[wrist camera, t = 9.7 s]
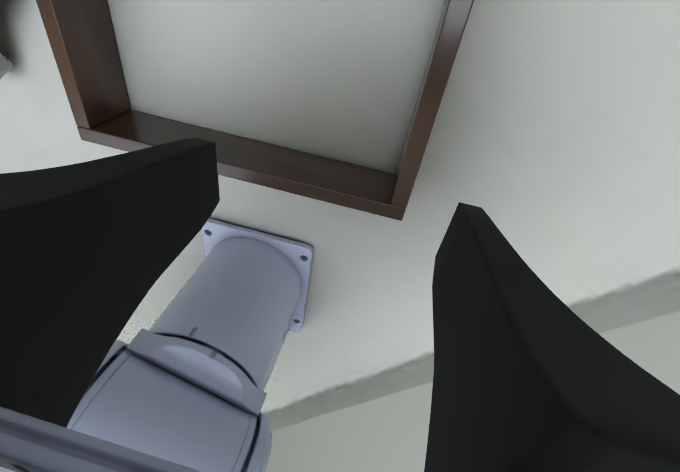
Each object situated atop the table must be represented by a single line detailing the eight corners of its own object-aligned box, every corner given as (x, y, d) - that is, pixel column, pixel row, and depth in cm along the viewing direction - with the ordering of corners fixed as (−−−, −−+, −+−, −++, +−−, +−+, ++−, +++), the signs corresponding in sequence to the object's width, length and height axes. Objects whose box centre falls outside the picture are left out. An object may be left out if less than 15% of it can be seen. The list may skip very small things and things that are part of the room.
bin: (406, 189, 20) (401, 221, 18) (121, 119, 22) (81, 139, 19) (531, -206, 11) (557, -254, 9) (24, -285, 12) (-79, -346, 10)
